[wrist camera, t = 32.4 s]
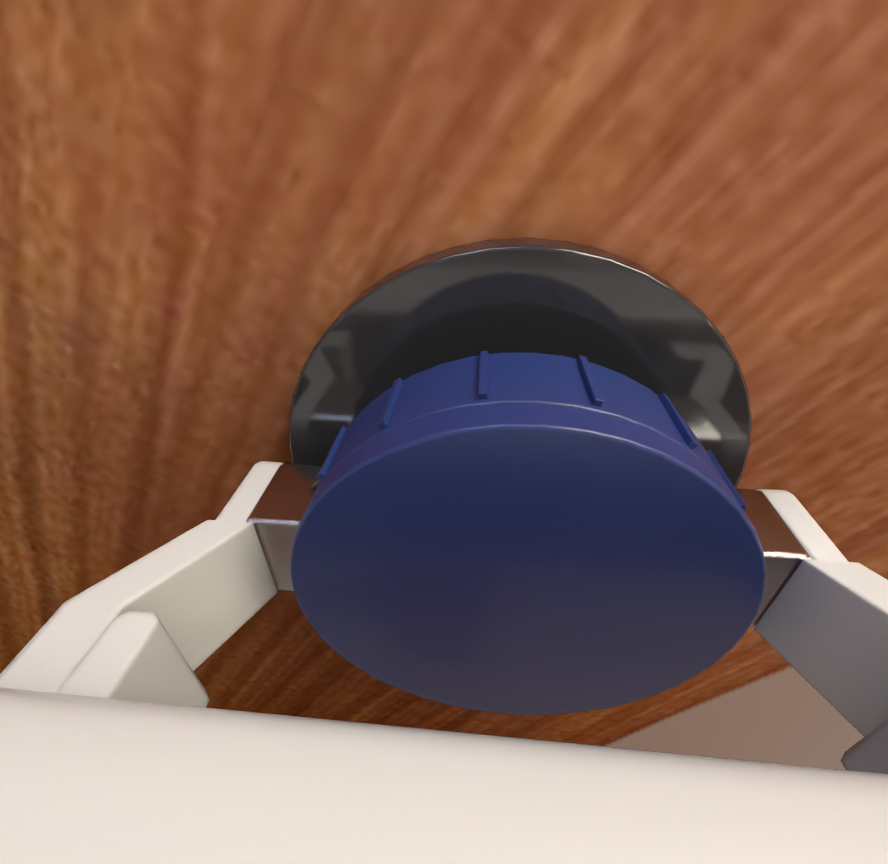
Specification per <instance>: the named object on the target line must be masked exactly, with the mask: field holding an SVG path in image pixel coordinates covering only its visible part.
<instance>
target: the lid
mask: <svg viewBox="0 0 888 864" xmlns="http://www.w3.org/2000/svg"><path fill="white" fill-rule="evenodd" d="M317 478H319V479H320V482H319V484H318V486H317V488H316V490H315V492H314V494H313V496H312V498H311V500H310V502H309V504H308V506H307V508H306V511H305V513H304V515H303V517H302V519H301V521H300V523H299V525H298V528H297V530H296V532H295V534H294V539H293V543H292V548H291V552H290V575H291V581H292V586H293V591H294V594H295V596H296V599H297V601H298V604H299V606H300V609H301V610H302V612H303V614H304V615H305V617H306V619H307V620H308V622H309V624H310V625H311V626H312V627H313V629H314V630H315V631H316V632H317V633H318V635H319V636H320V637H321V638H322V639H323V640H324V641H325V642H326V643H327V644H328V645H329V646H330V647H331V648H332V649H333V650H334V651H335V652H336V653H338V654H339V655H340V656H342V657H343V658H344V659H346V660H347V661H348V662H350V663H351V664H352V665H354V666H356V667H357V668H359V669H360V670H362V671H364V672H365V673H367V674H368V675H370V676H372V677H374V678H376V679H378V680H380V681H382V682H384V683H386V684H388V685H390V686H393V687H395V688H398V689H400V690H402V691H405V692H407V693H410V694H413V695H416V696H419V697H422V698H425V699H428V700H432V701H435V702H439V703H443V704H447V705H451V706H456V707H461V708H466V709H471V710H478V711H485V712H493V713H505V714H520V715H548V714H567V713H577V712H586V711H592V710H598V709H604V708H610V707H614V706H618V705H623V704H627V703H631V702H635V701H638V700H641V699H644V698H647V697H650V696H653V695H656V694H659V693H661V692H663V691H666V690H668V689H671V688H673V687H675V686H678V685H680V684H681V683H683V682H685V681H687V680H689V679H691V678H693V677H695V676H697V675H698V674H700V673H701V672H703V671H704V670H706V669H707V668H709V667H710V666H712V665H713V664H715V663H716V662H717V661H718V660H719V659H721V658H722V657H723V656H724V655H725V654H726V653H728V652H729V651H730V650H731V649H732V648H733V647H734V646H735V645H736V643H737V642H738V641H739V640H740V639H741V638H742V637H743V635H744V634H745V633H746V632H747V630H748V628H749V627H750V625H751V623H752V622H753V620H754V618H755V617H756V615H757V612H758V609H759V607H760V604H761V601H762V598H763V595H764V587H765V579H766V570H765V561H764V553H763V549H762V546H761V543H760V541H759V538H758V535H757V532H756V530H755V528H754V526H753V525H752V523H751V522H750V520H749V518H748V517H747V515H746V514H745V512H744V511H743V510H744V509H747V507H746V504H745V502H744V501H743V499H742V498H741V496H740V495H739V493H738V492H737V490H736V489H735V487H734V486H733V484H732V483H731V481H730V480H729V478H728V477H727V475H726V474H725V472H724V470H723V469H722V467H721V466H720V464H719V463H718V461H717V460H716V458H715V457H714V455H713V454H712V452H711V451H710V450H707V451H705V450H704V448H703V447H702V445H701V444H700V442H699V440H698V439H697V437H696V436H695V434H694V433H693V431H692V430H691V428H690V427H689V425H688V423H687V422H686V421H685V420H684V419H683V418H682V417H681V416H680V415H679V413H678V411H677V410H676V408H675V407H674V405H673V404H672V402H671V400H670V399H669V397H668V396H667V395H666V394H665V393H661V394H660V395H659V396H658V395H657V394H656V393H654V392H653V391H652V390H650V389H649V388H647V387H646V386H644V385H642V384H640V383H638V382H637V381H635V380H633V379H631V378H629V377H627V376H626V375H624V374H621V373H619V372H616V371H613V370H611V369H608V368H606V367H603V366H600V365H598V364H595V363H591V362H588V360H587V357H585V356H580V355H579V357H578V359H574V358H570V357H566V356H559V355H550V354H541V353H533V352H531V353H495V354H488V351H481V352H480V355H479V356H471V357H467V358H463V359H459V360H455V361H451V362H447V363H443V364H440V365H437V366H434V367H432V368H429V369H427V370H424V371H422V372H419V373H417V374H414V375H412V376H410V377H408V378H407V379H405V380H403V381H402V379H401V378H398V379H396V380H394V383H393V386H392V387H390V388H389V389H387V390H386V391H385V392H383V393H382V394H381V395H379V396H378V397H377V398H375V399H374V400H373V401H372V402H370V403H369V404H368V405H367V406H366V407H365V408H364V409H363V410H362V411H361V412H360V413H359V414H358V415H357V416H356V417H355V418H354V419H353V421H352V422H351V423H350V425H349V426H348V428H346V427H344V426H342V428H341V429H340V431H339V433H338V435H337V437H336V439H335V441H334V443H333V445H332V447H331V449H330V451H329V453H328V455H327V457H326V459H325V461H324V463H323V465H322V467H321V469H320V471H319V473H318V475H317Z"/></svg>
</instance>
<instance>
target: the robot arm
mask: <svg viewBox="0 0 888 864" xmlns="http://www.w3.org/2000/svg"><path fill="white" fill-rule="evenodd" d="M321 467H322V465H312V464H299V463H286V462H285V463H281V462H268V461H260V462H258V463H256V464H254V466H253V467H252V468H251V470H250V471H249V473H248V474H247V476H246V477H245V478H244V480H243V481H242V483H241V484H240V486H239V487H238V488H237V490H236V491H235V493H234V494H233V496H232V497H231V498H230V500H229V501H228V503H227V504H226V506H225V507H224V509H223V510H222V511H221V513H220V514H219V516H218V517H217V519H216V520H206V521H205V522H203V523H201V524H199V525H198V526H196V527H194V528H192V529H191V530H189V531H187V532H185V533H184V534H182V535H180V536H178V537H177V538H175V539H173V540H172V541H170V542H168V543H166V544H165V545H163V546H161V547H159V548H158V549H156V550H154V551H152V552H151V553H149V554H147V555H146V556H144V557H142V558H140V559H139V560H137V561H135V562H133V563H132V564H130V565H128V566H126V567H125V568H123V569H121V570H119V571H118V572H116V573H114V574H113V575H111V576H109V577H107V578H106V579H104V580H102V581H100V582H99V583H97V584H95V585H93V586H92V587H90V588H88V589H86V590H85V591H83V592H81V593H80V594H78V595H76V596H74V597H73V598H71V599H69V600H67V601H66V602H64V603H63V604H62V605H61V607H60V608H59V609H58V610H57V611H56V612H55V613H54V614H53V616H52V617H51V618H50V619H49V620H48V621H47V622H46V623H45V624H44V626H43V627H42V628H41V629H40V630H39V631H38V632H37V633H36V635H35V636H34V637H33V638H32V639H31V640H30V641H29V642H28V644H27V645H26V646H25V647H24V648H23V649H22V650H21V651H20V653H19V654H18V655H17V656H16V657H15V658H14V659H13V660H12V662H11V663H10V664H9V665H8V666H7V667H6V668H5V669H4V671H3V672H2V673H1V674H0V864H888V580H887V579H885V578H883V577H882V576H880V575H878V574H877V573H875V572H873V571H872V570H870V569H868V568H867V567H865V566H863V565H862V564H860V563H855V562H848V561H847V560H846V558H845V557H844V556H843V555H842V553H841V552H840V551H839V550H838V549H837V547H836V546H835V545H834V544H833V542H832V541H831V540H830V539H829V538H828V536H827V535H826V534H825V533H824V531H823V530H822V529H821V528H820V527H819V525H818V524H817V523H816V522H815V520H814V519H813V518H812V517H811V516H810V514H809V513H808V512H807V511H806V509H805V508H804V507H803V506H802V505H801V503H800V502H799V501H798V500H797V498H796V497H795V496H794V495H793V494H791V493H789V492H788V491H786V490H770V489H754V490H752V489H736V490H737V492H738V493H739V495H740V496H741V498H742V499H743V501H744V502H745V504H746V507H747V509H744V510H743V511H744V512H745V514H746V515H747V517H748V518H749V520H750V522H751V523H752V525H753V526H754V528H755V530H756V532H757V535H758V538H759V541H760V543H761V546H762V549H763V553H764V561H765V570H766V579H765V587H764V595H763V598H762V601H761V604H760V607H759V609H758V612H757V615H756V617H755V618H754V620H753V622H752V623H751V625H750V626H751V627H755V628H754V630H755V631H756V632H757V633H758V634H759V635H760V636H761V637H762V638H763V639H764V640H765V641H766V642H767V643H768V644H769V645H770V646H772V647H773V648H774V649H775V650H776V651H777V652H778V653H779V654H780V655H781V656H782V657H783V658H784V659H785V660H786V661H787V662H788V663H789V664H790V665H791V666H792V667H793V668H794V669H795V670H796V671H797V672H798V673H799V674H800V675H801V676H802V677H803V678H804V679H805V680H806V681H807V682H808V683H809V684H811V685H812V686H813V687H814V688H815V689H816V690H817V691H818V692H819V693H820V694H821V695H822V696H823V697H824V698H825V699H826V700H827V701H828V702H829V703H830V704H831V705H832V706H833V707H834V708H835V709H836V710H837V711H838V712H839V713H840V714H841V715H842V716H843V717H844V718H845V719H846V720H847V721H848V722H850V723H851V724H852V725H853V726H854V727H855V728H856V729H857V730H858V731H859V732H860V733H861V734H862V735H863V736H864V738H862V739H861V740H860V741H859V742H857V743H856V744H855V745H853V746H852V747H851V748H850V749H848V750H847V751H846V752H845V753H844V755H843V757H842V759H841V762H842V763H843V766H844V768H845V769H846V770H839V769H829V768H819V767H808V766H797V765H788V764H778V763H767V762H757V761H747V760H737V759H727V758H716V757H705V756H696V755H686V754H676V753H665V752H656V751H645V750H635V749H625V748H615V747H605V746H594V745H584V744H574V743H564V742H554V741H543V740H533V739H523V738H513V737H502V736H492V735H482V734H472V733H462V732H451V731H441V730H431V729H421V728H410V727H400V726H390V725H380V724H369V723H359V722H349V721H338V720H328V719H318V718H308V717H297V716H287V715H277V714H266V713H256V712H246V711H236V710H225V709H215V708H206V707H207V704H208V702H209V697H208V694H207V691H206V690H205V688H204V687H203V685H202V684H201V682H200V681H199V679H198V678H197V676H196V675H195V673H194V672H193V671H194V670H195V669H196V668H197V667H199V666H200V665H201V664H202V663H203V662H204V661H205V660H206V659H207V658H208V657H209V656H210V655H211V654H212V653H214V652H215V651H216V650H217V649H218V648H219V647H220V646H221V645H222V644H223V643H224V642H225V641H226V640H227V639H228V638H230V637H231V636H232V635H233V634H234V633H235V632H236V631H237V630H238V629H239V628H240V627H241V626H242V625H243V624H245V623H246V622H247V621H248V620H249V619H250V618H251V617H252V616H253V615H254V614H255V613H256V612H257V611H258V610H260V609H261V608H262V607H263V606H264V605H265V604H266V603H267V602H268V601H269V600H270V599H271V598H272V597H273V596H275V595H276V594H277V590H285V591H293V586H292V581H291V575H290V552H291V548H292V543H293V539H294V534H295V532H296V530H297V528H298V525H299V523H300V521H301V519H302V517H303V515H304V513H305V511H306V508H307V506H308V504H309V502H310V500H311V498H312V496H313V494H314V492H315V490H316V488H317V486H318V484H319V482H320V479H319V478H317V475H318V473H319V471H320V469H321Z"/></svg>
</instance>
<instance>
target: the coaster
mask: <svg viewBox="0 0 888 864" xmlns="http://www.w3.org/2000/svg"><path fill="white" fill-rule="evenodd" d="M481 351H488V354H495V353H531V352H533V353H541V354H550V355H559V356H566V357H570V358H574V359H578V357H579V355H580V356H585V357H587V360H588V362H591V363H595V364H598V365H600V366H603V367H606V368H608V369H611V370H613V371H616V372H619V373H621V374H624V375H626V376H627V377H629V378H631V379H633V380H635V381H637V382H638V383H640V384H642V385H644V386H646V387H647V388H649V389H650V390H652V391H653V392H654V393H656V394H657V395H658V396H659V395H660V394H661V393H665V394H666V395H667V396H668V397H669V399H670V400H671V402H672V404H673V405H674V407H675V408H676V410H677V411H678V413H679V415H680V416H681V417H682V418H683V419H684V420H685V421H686V422H687V423H688V425H689V427H690V428H691V430H692V431H693V433H694V434H695V436H696V437H697V439H698V440H699V442H700V444H701V445H702V447H703V448H704V450H705V451H707V450H710V451H711V452H712V454H713V455H714V457H715V458H716V460H717V461H718V463H719V464H720V466H721V467H722V469H723V470H724V472H725V474H726V475H727V477H728V478H729V480H730V481H731V483H732V484H733V486H734V487H735V489H736V487H737V485H738V482H739V480H740V477H741V475H742V473H743V470H744V467H745V463H746V459H747V455H748V450H749V446H750V433H751V411H750V403H749V396H748V389H747V386H746V383H745V380H744V377H743V375H742V372H741V369H740V366H739V363H738V361H737V359H736V358H735V356H734V354H733V352H732V350H731V349H730V347H729V345H728V343H727V342H726V340H725V338H724V336H723V335H722V334H721V333H720V332H719V331H718V329H717V328H716V327H715V326H714V325H713V323H712V322H711V321H710V320H709V319H708V317H707V316H706V315H705V314H704V313H703V312H702V311H701V310H700V309H699V308H698V307H697V306H696V305H695V304H694V303H692V302H691V301H690V300H689V299H688V298H687V297H685V296H684V295H683V294H682V293H681V292H679V291H678V290H677V289H676V288H675V287H673V286H672V285H671V284H670V283H669V282H667V281H666V280H664V279H663V278H661V277H659V276H658V275H656V274H654V273H653V272H651V271H649V270H647V269H646V268H644V267H642V266H641V265H639V264H637V263H635V262H632V261H630V260H627V259H625V258H622V257H620V256H617V255H615V254H612V253H610V252H607V251H605V250H602V249H597V248H593V247H589V246H585V245H580V244H576V243H572V242H568V241H558V240H546V239H535V238H517V239H498V240H487V241H482V242H477V243H471V244H466V245H461V246H456V247H452V248H449V249H446V250H443V251H440V252H437V253H434V254H431V255H428V256H425V257H422V258H419V259H417V260H415V261H413V262H412V263H410V264H408V265H406V266H404V267H402V268H400V269H398V270H396V271H394V272H392V273H390V274H388V275H387V276H385V277H384V278H382V279H381V280H379V281H378V282H377V283H375V284H374V285H372V286H371V287H369V288H368V289H367V290H365V291H364V292H362V293H361V294H360V295H359V296H358V297H357V298H356V299H355V300H354V301H353V302H352V303H351V304H350V305H349V306H348V307H347V308H346V309H344V310H343V311H342V312H341V313H340V314H339V316H338V317H337V318H336V319H335V321H334V322H333V323H332V325H331V326H330V327H329V329H328V330H327V331H326V332H325V334H324V335H323V336H322V338H321V339H320V340H319V342H318V343H317V344H316V346H315V347H314V348H313V350H312V352H311V354H310V356H309V358H308V360H307V362H306V364H305V365H304V367H303V369H302V371H301V374H300V377H299V380H298V383H297V386H296V389H295V392H294V395H293V399H292V406H291V412H290V419H289V436H290V449H291V455H292V461H293V463H299V464H312V465H323V463H324V461H325V459H326V457H327V455H328V453H329V451H330V449H331V447H332V445H333V443H334V441H335V439H336V437H337V435H338V433H339V431H340V429H341V428H342V426H344V427H346V428H348V426H349V425H350V423H351V422H352V421H353V419H354V418H355V417H356V416H357V415H358V414H359V413H360V412H361V411H362V410H363V409H364V408H365V407H366V406H367V405H368V404H369V403H370V402H372V401H373V400H374V399H375V398H377V397H378V396H379V395H381V394H382V393H383V392H385V391H386V390H387V389H389V388H390V387H392V386H393V383H394V380H396V379H398V378H401V379H402V381H403V380H405V379H407V378H408V377H410V376H412V375H414V374H417V373H419V372H422V371H424V370H427V369H429V368H432V367H434V366H437V365H440V364H443V363H447V362H451V361H455V360H459V359H463V358H467V357H471V356H479V355H480V352H481Z"/></svg>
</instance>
